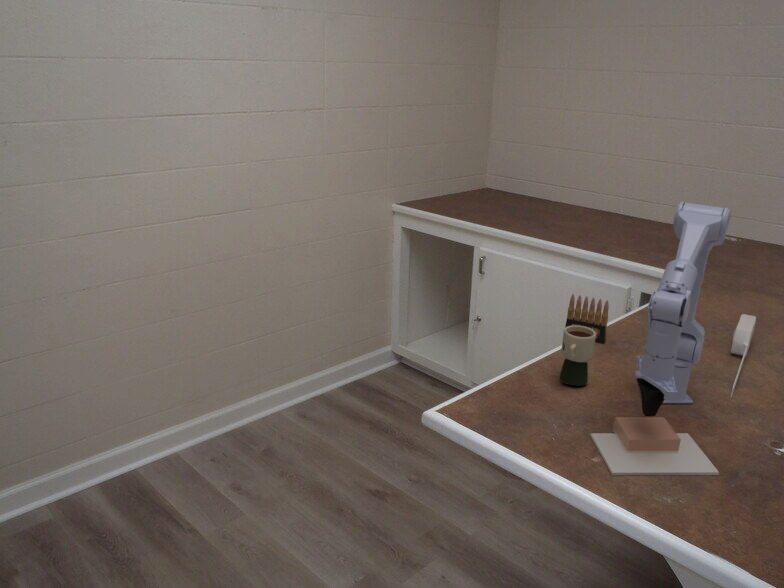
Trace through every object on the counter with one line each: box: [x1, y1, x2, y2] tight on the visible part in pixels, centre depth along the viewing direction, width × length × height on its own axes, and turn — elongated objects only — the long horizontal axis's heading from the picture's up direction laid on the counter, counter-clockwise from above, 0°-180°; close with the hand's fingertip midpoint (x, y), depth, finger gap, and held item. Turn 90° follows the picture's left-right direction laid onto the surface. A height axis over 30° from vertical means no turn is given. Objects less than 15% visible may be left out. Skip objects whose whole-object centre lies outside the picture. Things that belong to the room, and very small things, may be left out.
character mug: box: [559, 325, 596, 387], centre depth 154 cm, size 11×7×13 cm, turn 148°
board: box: [589, 432, 720, 476], centre depth 130 cm, size 13×20×1 cm, turn 92°
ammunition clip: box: [564, 293, 610, 345], centre depth 177 cm, size 11×2×12 cm, turn 63°
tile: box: [612, 416, 681, 453], centre depth 133 cm, size 3×10×8 cm
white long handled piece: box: [729, 313, 757, 399], centre depth 166 cm, size 38×8×4 cm
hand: (648, 414), depth 131 cm, fingers closed
